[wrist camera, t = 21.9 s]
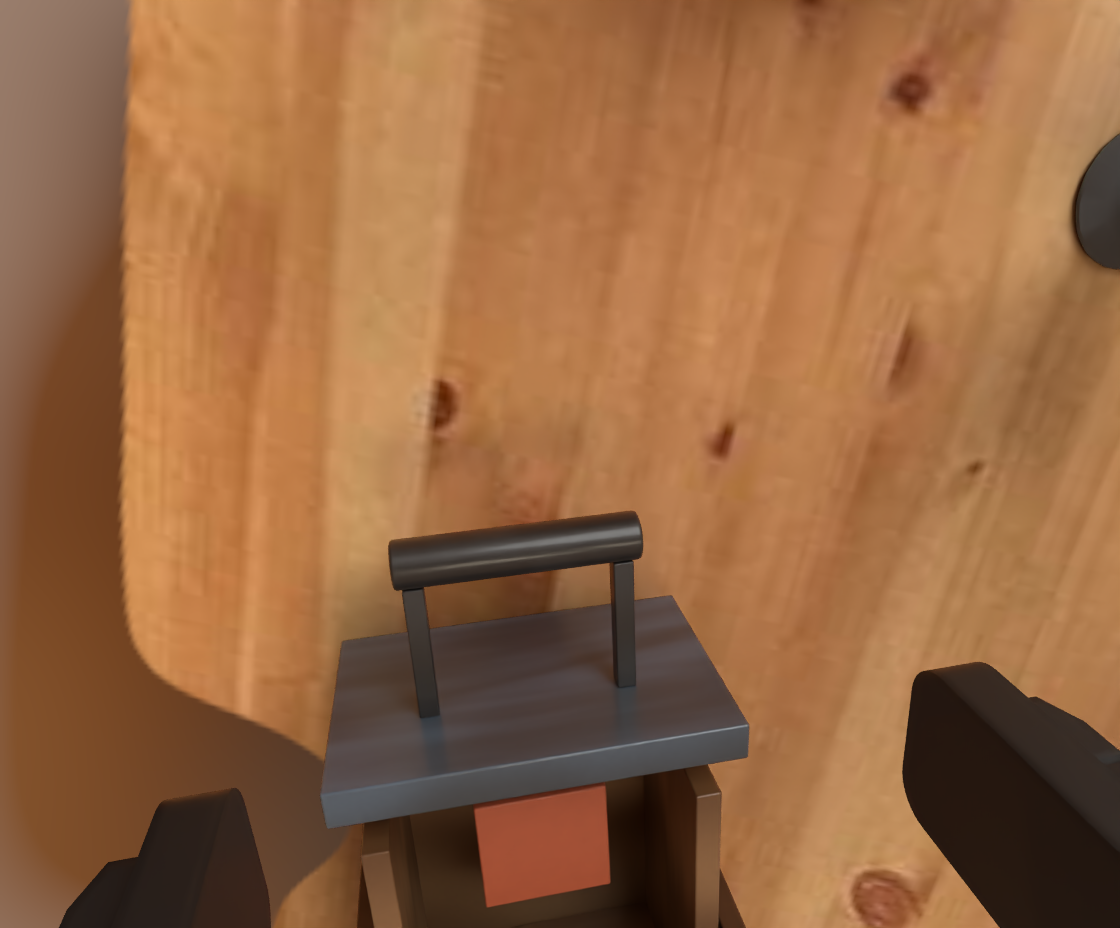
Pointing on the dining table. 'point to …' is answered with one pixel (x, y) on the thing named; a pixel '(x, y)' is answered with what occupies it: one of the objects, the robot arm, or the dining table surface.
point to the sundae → (1101, 207)
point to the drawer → (532, 736)
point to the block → (543, 843)
